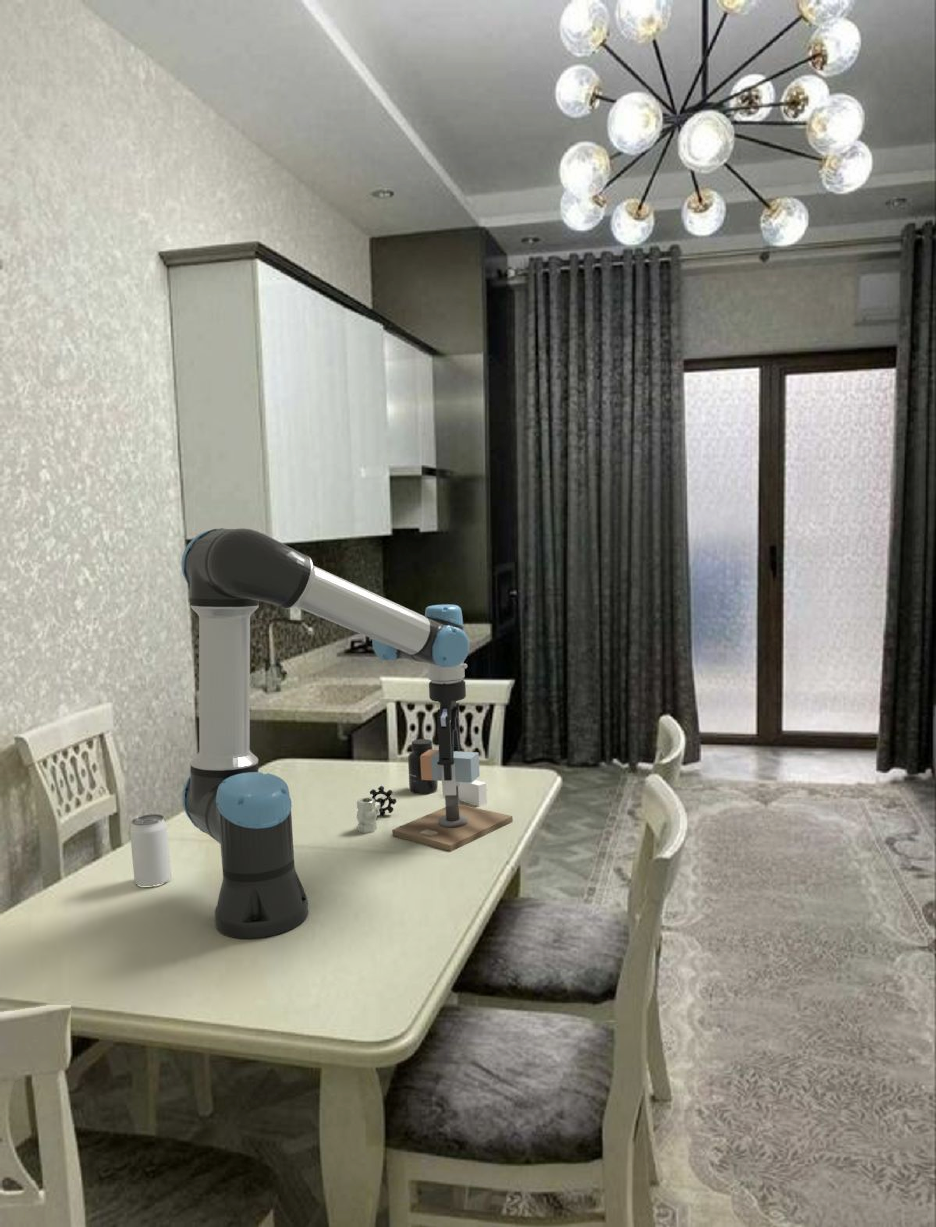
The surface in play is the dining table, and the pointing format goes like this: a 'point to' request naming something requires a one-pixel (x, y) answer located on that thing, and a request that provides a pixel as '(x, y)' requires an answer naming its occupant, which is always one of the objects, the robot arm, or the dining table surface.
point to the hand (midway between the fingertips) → (451, 789)
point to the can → (150, 850)
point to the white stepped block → (473, 793)
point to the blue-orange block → (463, 766)
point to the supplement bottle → (419, 768)
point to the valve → (373, 809)
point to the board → (452, 825)
